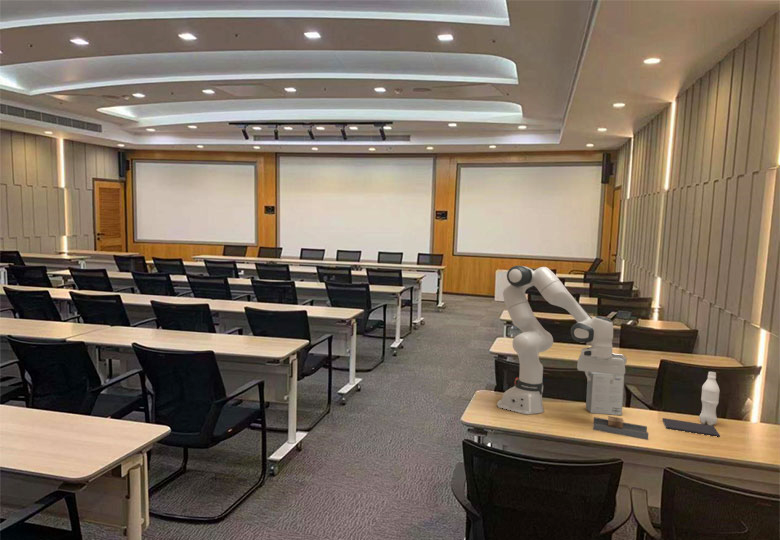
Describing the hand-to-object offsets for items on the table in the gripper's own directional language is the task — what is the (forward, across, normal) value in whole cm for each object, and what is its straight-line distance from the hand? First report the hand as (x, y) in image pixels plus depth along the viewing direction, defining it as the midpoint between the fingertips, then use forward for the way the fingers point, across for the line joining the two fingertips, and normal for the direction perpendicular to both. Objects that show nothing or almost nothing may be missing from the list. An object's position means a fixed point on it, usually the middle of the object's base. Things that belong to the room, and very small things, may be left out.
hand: (600, 382), depth 227 cm
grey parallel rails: (+21, -9, +1) cm, 23 cm away
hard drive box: (+20, -3, -24) cm, 31 cm away
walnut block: (+21, -7, +1) cm, 22 cm away
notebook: (+22, -40, -19) cm, 49 cm away
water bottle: (+21, -50, -30) cm, 62 cm away
